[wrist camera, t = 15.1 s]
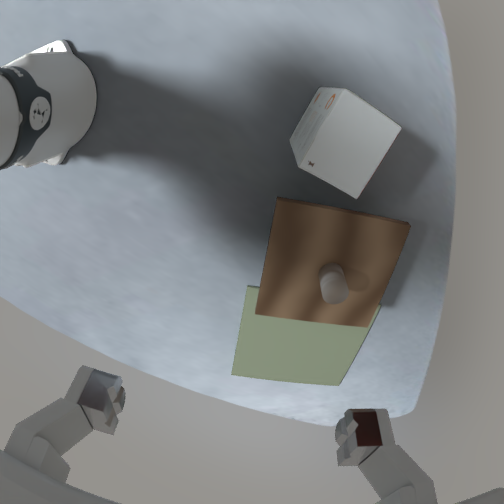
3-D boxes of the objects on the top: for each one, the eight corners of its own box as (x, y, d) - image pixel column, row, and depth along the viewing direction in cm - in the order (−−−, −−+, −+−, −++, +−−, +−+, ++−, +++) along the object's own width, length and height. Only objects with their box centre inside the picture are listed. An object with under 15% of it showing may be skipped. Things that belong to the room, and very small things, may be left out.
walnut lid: (255, 309, 42) (253, 335, 38) (277, 196, 34) (277, 215, 30) (366, 322, 43) (373, 348, 38) (407, 222, 35) (423, 242, 30)
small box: (331, 165, 38) (356, 202, 27) (287, 140, 37) (295, 167, 26) (363, 112, 35) (404, 127, 23) (319, 85, 33) (343, 86, 22)
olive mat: (231, 373, 59) (231, 374, 59) (247, 285, 48) (247, 286, 48) (338, 384, 60) (338, 385, 60) (380, 303, 49) (381, 305, 49)
